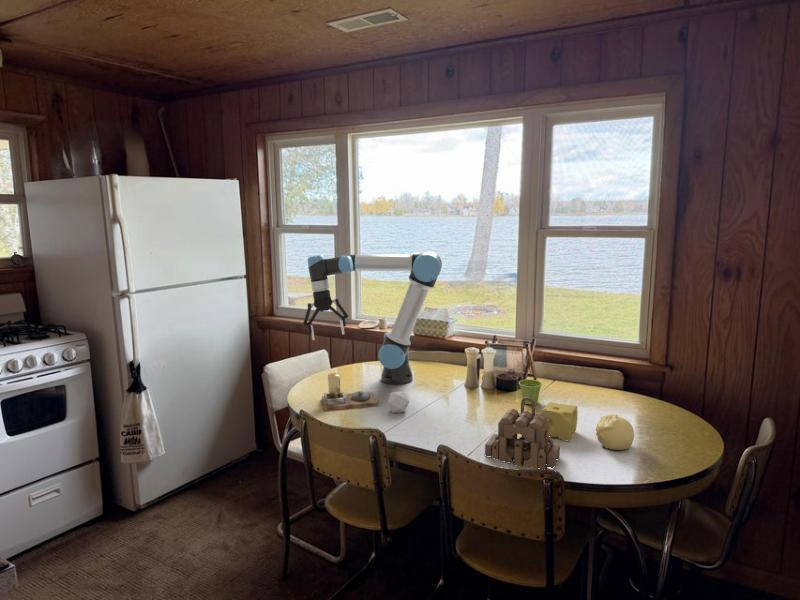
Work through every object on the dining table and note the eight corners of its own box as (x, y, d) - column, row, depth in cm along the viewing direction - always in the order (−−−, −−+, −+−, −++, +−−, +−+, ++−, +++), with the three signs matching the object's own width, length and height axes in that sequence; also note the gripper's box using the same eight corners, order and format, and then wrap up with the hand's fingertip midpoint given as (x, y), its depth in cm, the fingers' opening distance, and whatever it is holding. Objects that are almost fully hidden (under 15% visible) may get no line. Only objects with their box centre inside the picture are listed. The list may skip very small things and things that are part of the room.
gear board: (372, 394, 235) (372, 385, 235) (377, 405, 222) (377, 396, 221) (322, 399, 231) (321, 389, 230) (324, 410, 217) (324, 400, 217)
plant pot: (527, 408, 216) (528, 387, 215) (513, 401, 225) (514, 381, 223) (546, 404, 220) (546, 384, 219) (531, 397, 228) (532, 378, 227)
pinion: (340, 397, 228) (339, 372, 226) (341, 401, 223) (340, 376, 222) (328, 398, 227) (327, 373, 225) (329, 402, 222) (328, 377, 220)
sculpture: (596, 437, 188) (597, 407, 187) (633, 442, 184) (634, 412, 182) (594, 450, 178) (595, 419, 176) (633, 456, 173) (635, 424, 172)
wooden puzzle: (482, 459, 173) (483, 404, 170) (496, 441, 186) (497, 390, 183) (551, 473, 163) (553, 415, 160) (561, 454, 176) (563, 400, 173)
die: (404, 418, 210) (414, 395, 213) (384, 408, 210) (395, 385, 212) (400, 417, 218) (410, 396, 221) (381, 408, 218) (392, 386, 220)
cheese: (569, 442, 184) (570, 414, 183) (539, 436, 190) (539, 409, 188) (577, 431, 193) (578, 405, 192) (547, 425, 199) (548, 400, 197)
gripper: (346, 285, 245) (353, 331, 247) (292, 294, 238) (300, 341, 240) (349, 285, 238) (357, 332, 240) (293, 295, 231) (302, 343, 233)
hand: (328, 337), depth 240 cm, fingers open, 13 cm apart
